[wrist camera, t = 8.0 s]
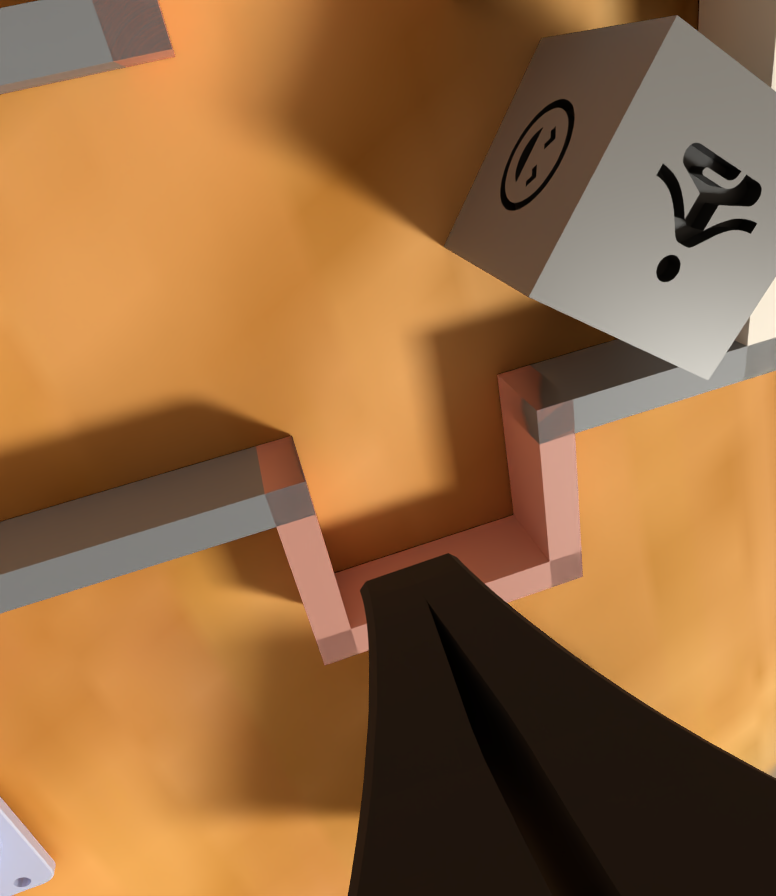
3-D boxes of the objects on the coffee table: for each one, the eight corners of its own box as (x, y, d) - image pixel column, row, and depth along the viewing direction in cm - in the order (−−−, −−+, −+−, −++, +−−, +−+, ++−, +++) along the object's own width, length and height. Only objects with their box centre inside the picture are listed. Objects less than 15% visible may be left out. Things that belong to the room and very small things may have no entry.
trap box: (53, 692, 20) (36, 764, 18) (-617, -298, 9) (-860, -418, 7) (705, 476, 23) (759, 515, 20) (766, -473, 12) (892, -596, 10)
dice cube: (690, 139, 17) (855, 153, 13) (590, 315, 19) (708, 380, 14) (539, 38, 15) (677, 14, 11) (442, 246, 17) (528, 297, 12)
